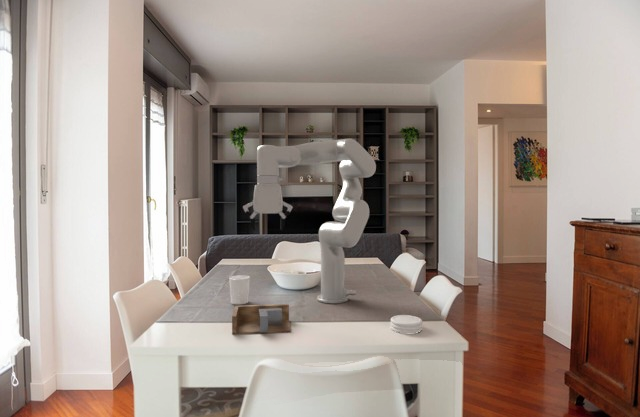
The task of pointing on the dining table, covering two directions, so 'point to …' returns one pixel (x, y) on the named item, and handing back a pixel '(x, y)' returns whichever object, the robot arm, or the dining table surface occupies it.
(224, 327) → the dining table surface
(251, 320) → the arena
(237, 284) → the white cup
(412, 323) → the coaster
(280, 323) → the bracket
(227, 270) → the dining table surface
